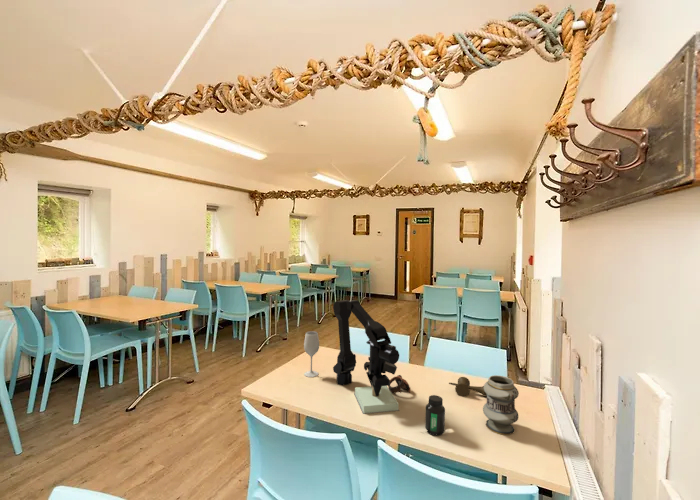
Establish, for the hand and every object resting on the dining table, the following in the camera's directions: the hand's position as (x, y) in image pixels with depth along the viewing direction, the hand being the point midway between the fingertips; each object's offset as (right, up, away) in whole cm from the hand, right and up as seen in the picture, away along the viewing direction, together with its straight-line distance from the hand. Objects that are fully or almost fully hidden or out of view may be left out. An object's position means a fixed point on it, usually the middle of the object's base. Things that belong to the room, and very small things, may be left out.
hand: (375, 393), depth 138 cm
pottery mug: (+12, -5, +11) cm, 17 cm away
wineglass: (-30, -3, +29) cm, 42 cm away
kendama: (+44, -5, +11) cm, 46 cm away
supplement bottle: (+20, -6, -18) cm, 28 cm away
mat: (0, -5, 0) cm, 4 cm away
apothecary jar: (+45, -6, -15) cm, 48 cm away
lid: (0, -4, 0) cm, 4 cm away
